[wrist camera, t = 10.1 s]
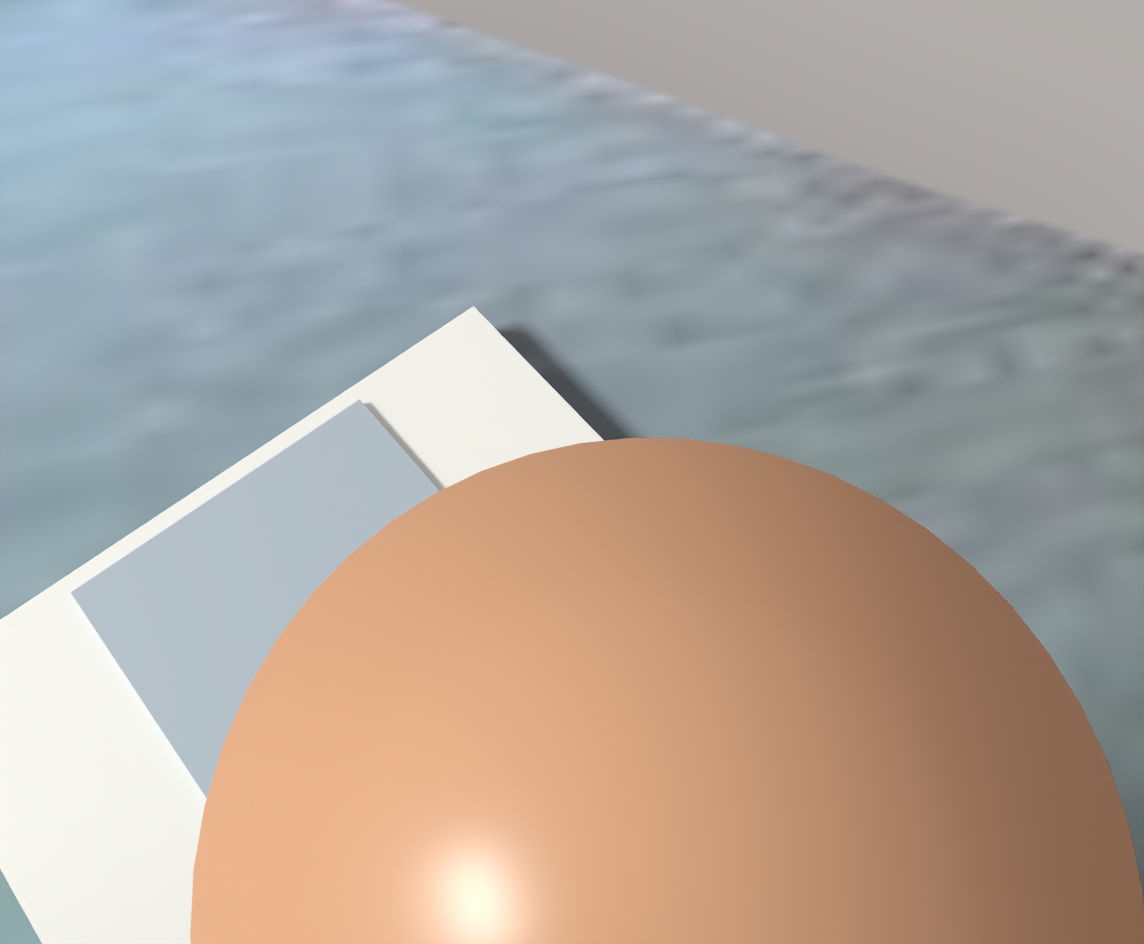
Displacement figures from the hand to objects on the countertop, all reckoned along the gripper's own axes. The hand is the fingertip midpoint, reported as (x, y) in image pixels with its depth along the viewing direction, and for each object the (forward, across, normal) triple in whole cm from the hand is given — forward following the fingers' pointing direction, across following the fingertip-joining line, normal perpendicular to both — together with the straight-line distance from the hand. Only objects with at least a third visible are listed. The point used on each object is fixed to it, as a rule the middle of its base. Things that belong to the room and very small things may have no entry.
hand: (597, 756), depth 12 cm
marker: (+2, 0, +5) cm, 5 cm away
